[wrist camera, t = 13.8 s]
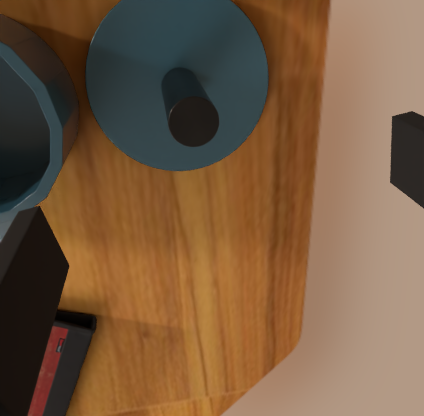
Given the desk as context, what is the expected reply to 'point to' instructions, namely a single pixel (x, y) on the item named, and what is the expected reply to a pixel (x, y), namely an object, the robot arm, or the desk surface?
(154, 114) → the pot lid
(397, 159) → the robot arm
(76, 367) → the binder
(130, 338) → the desk surface
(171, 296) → the desk surface
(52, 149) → the pot
